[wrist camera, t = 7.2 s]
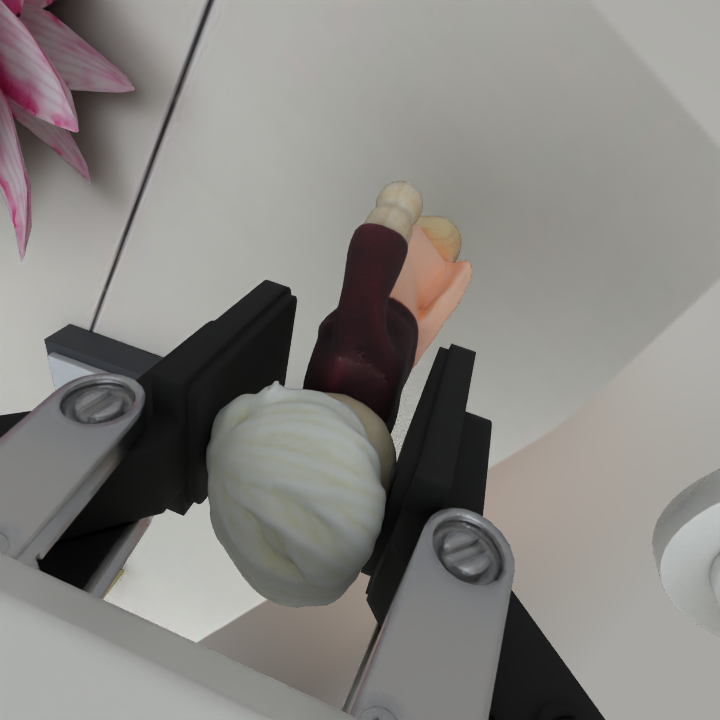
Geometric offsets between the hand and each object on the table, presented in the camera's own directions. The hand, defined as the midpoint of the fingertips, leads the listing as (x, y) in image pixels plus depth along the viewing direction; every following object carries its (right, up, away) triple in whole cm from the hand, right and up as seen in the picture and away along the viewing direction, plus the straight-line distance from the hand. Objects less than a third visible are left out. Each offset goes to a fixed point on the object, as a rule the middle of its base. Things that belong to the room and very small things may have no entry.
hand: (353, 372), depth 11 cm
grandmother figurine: (+2, +4, +6) cm, 8 cm away
